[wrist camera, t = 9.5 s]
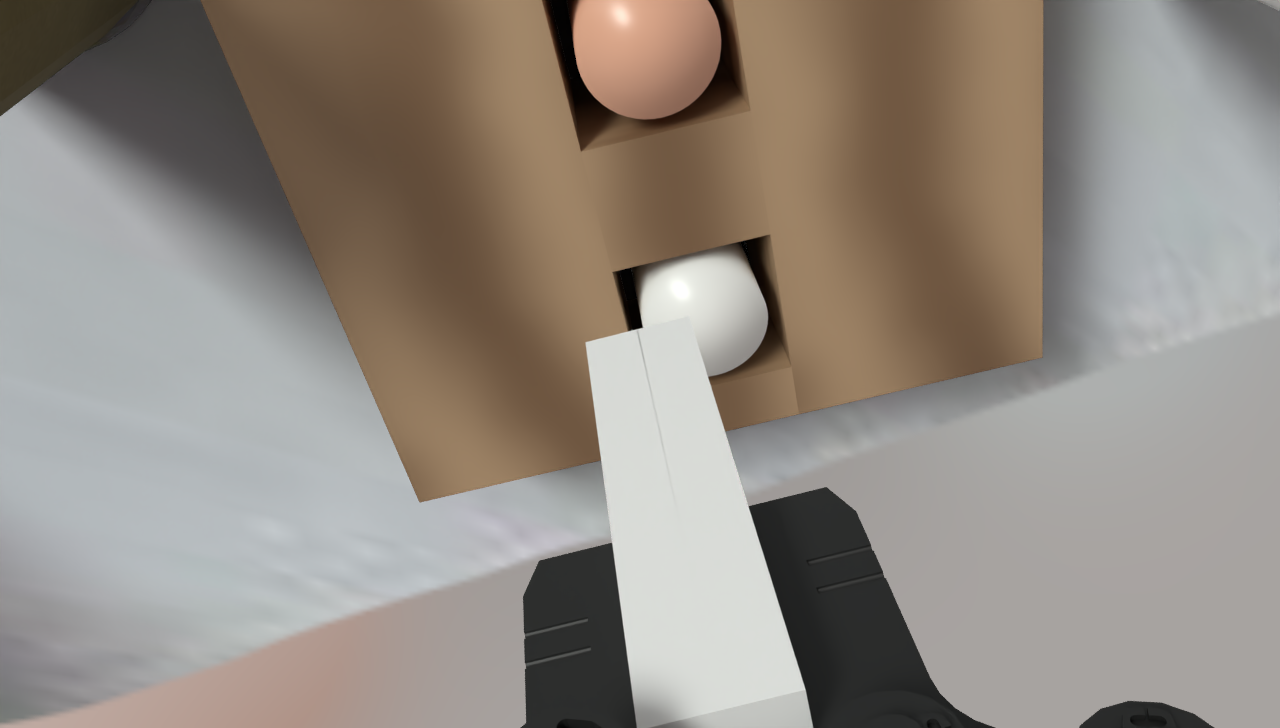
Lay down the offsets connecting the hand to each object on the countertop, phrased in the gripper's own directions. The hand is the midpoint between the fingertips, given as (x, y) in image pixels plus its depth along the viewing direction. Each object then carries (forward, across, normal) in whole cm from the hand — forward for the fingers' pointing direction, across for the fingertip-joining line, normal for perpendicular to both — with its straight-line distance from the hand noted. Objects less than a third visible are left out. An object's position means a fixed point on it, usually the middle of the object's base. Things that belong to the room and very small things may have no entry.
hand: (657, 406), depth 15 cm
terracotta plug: (+22, +2, 0) cm, 22 cm away
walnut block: (+23, +2, -4) cm, 23 cm away
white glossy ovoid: (+22, +2, -9) cm, 24 cm away
